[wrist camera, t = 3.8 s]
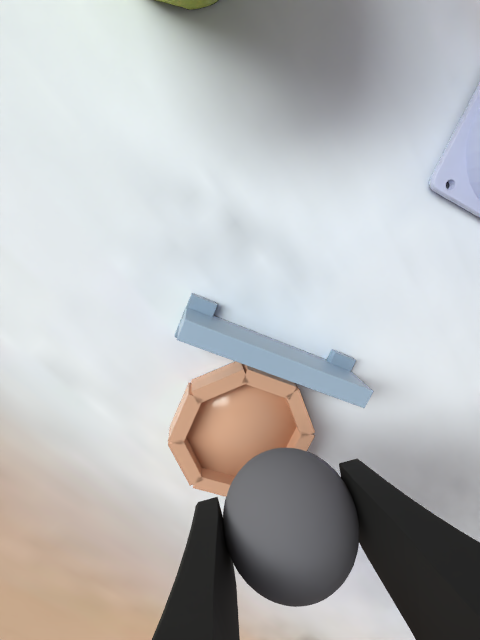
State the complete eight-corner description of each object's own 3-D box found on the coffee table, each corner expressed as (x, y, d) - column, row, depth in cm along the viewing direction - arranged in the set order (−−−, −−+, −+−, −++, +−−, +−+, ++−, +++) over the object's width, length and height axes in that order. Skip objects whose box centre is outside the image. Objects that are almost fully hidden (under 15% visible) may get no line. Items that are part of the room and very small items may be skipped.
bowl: (323, 388, 19) (333, 400, 18) (270, 491, 21) (275, 509, 19) (204, 345, 18) (205, 354, 16) (155, 460, 19) (152, 477, 18)
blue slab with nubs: (352, 357, 19) (380, 379, 16) (333, 392, 19) (357, 419, 16) (191, 293, 17) (191, 304, 14) (175, 334, 17) (171, 353, 14)
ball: (332, 423, 12) (404, 513, 8) (316, 515, 13) (373, 637, 9) (221, 423, 11) (240, 523, 7) (213, 521, 12) (225, 657, 8)
